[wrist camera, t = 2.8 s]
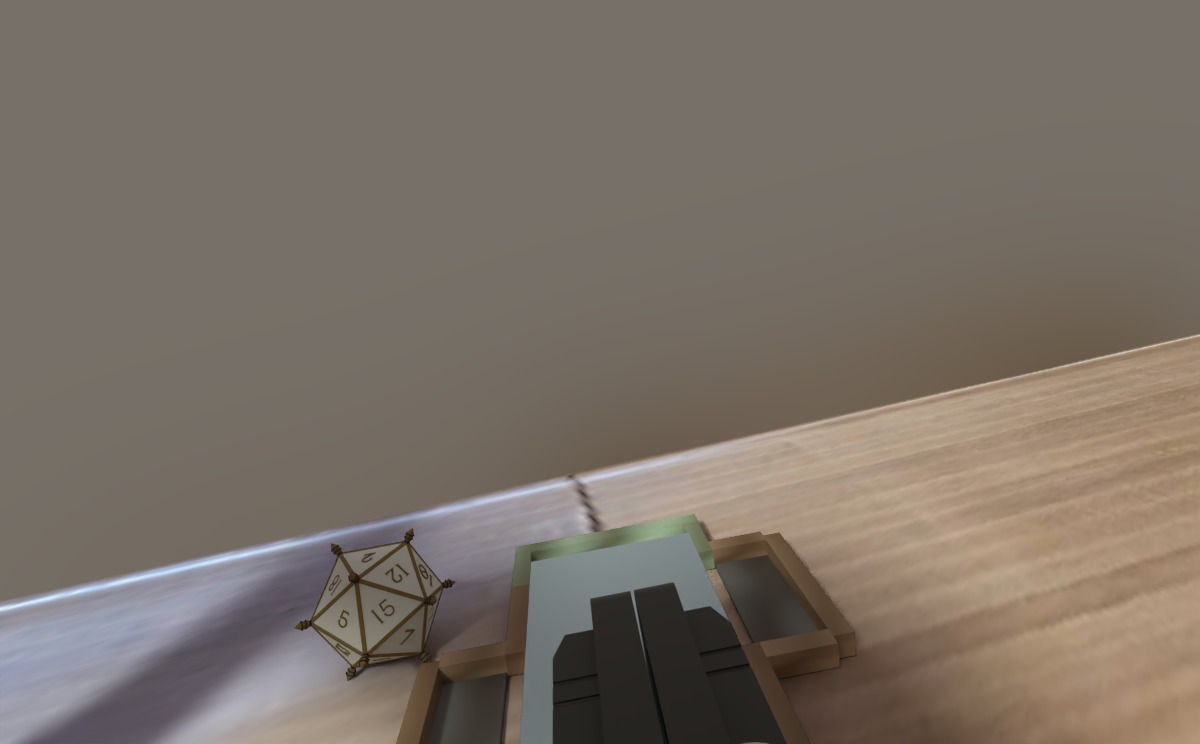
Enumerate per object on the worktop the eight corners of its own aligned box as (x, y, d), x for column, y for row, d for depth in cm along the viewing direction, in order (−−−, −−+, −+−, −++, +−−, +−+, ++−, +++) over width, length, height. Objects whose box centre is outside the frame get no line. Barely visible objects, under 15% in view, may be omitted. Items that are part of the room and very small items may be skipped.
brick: (568, 984, 21) (518, 770, 18) (562, 712, 32) (531, 562, 30) (797, 934, 21) (774, 719, 19) (709, 683, 33) (688, 532, 30)
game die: (379, 706, 41) (285, 592, 41) (478, 611, 44) (390, 507, 45) (367, 735, 32) (250, 591, 33) (489, 615, 36) (382, 488, 37)
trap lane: (315, 1085, 19) (301, 1053, 19) (456, 575, 48) (452, 558, 48) (1051, 926, 20) (1051, 891, 20) (758, 519, 49) (756, 502, 49)
